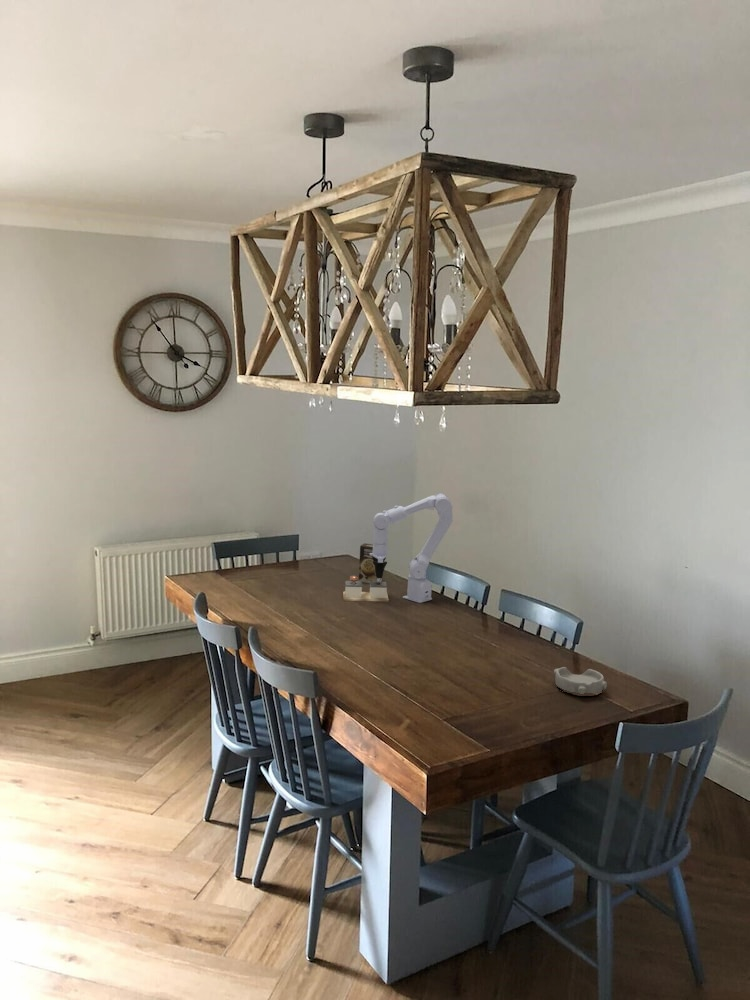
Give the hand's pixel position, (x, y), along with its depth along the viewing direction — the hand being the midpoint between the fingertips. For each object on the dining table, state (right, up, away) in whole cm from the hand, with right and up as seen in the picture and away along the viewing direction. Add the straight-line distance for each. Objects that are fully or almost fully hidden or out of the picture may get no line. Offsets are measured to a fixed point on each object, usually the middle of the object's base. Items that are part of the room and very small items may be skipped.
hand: (378, 575), depth 327 cm
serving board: (-5, -9, +1) cm, 10 cm away
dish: (+59, -26, -85) cm, 107 cm away
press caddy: (-5, -9, +1) cm, 10 cm away
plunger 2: (0, -4, +1) cm, 4 cm away
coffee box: (-4, -5, +26) cm, 26 cm away
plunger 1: (-10, -6, +1) cm, 12 cm away
